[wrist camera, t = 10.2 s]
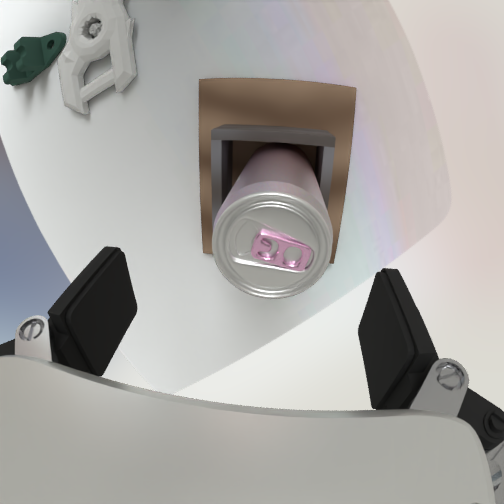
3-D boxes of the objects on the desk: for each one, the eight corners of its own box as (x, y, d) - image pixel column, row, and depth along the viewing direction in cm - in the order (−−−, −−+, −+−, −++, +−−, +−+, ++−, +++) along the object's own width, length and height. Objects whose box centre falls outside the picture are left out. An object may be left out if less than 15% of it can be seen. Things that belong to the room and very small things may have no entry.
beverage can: (299, 210, 28) (307, 314, 15) (240, 191, 28) (197, 282, 15) (320, 152, 25) (356, 214, 12) (257, 132, 25) (223, 171, 12)
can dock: (202, 79, 24) (180, 75, 19) (353, 88, 23) (371, 85, 17) (205, 247, 33) (189, 279, 27) (332, 257, 32) (339, 291, 26)
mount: (65, 23, 20) (37, 20, 16) (70, 51, 22) (41, 50, 18) (13, 67, 23) (-13, 70, 18) (17, 93, 25) (-9, 98, 20)
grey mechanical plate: (46, -10, 15) (119, -51, 14) (63, -7, 18) (134, -42, 16) (61, 123, 24) (136, 96, 23) (79, 117, 27) (151, 93, 26)
